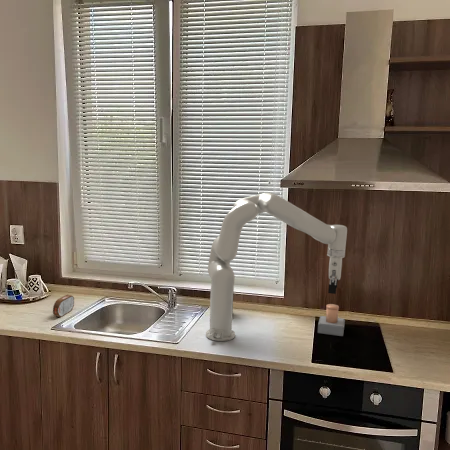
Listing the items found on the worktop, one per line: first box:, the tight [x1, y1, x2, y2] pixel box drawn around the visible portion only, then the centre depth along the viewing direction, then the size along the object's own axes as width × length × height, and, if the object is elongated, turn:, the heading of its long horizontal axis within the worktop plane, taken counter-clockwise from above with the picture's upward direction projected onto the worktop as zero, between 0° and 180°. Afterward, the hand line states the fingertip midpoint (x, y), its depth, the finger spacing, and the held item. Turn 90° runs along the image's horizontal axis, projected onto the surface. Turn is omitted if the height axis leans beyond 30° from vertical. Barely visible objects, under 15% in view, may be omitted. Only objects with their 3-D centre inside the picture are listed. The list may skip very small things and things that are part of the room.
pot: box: [325, 303, 340, 323], centre depth 203 cm, size 6×6×7 cm
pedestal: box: [317, 315, 346, 337], centre depth 204 cm, size 11×11×4 cm
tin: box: [52, 294, 75, 318], centre depth 214 cm, size 15×3×8 cm, turn 168°
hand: (332, 290), depth 202 cm, fingers open, 9 cm apart
